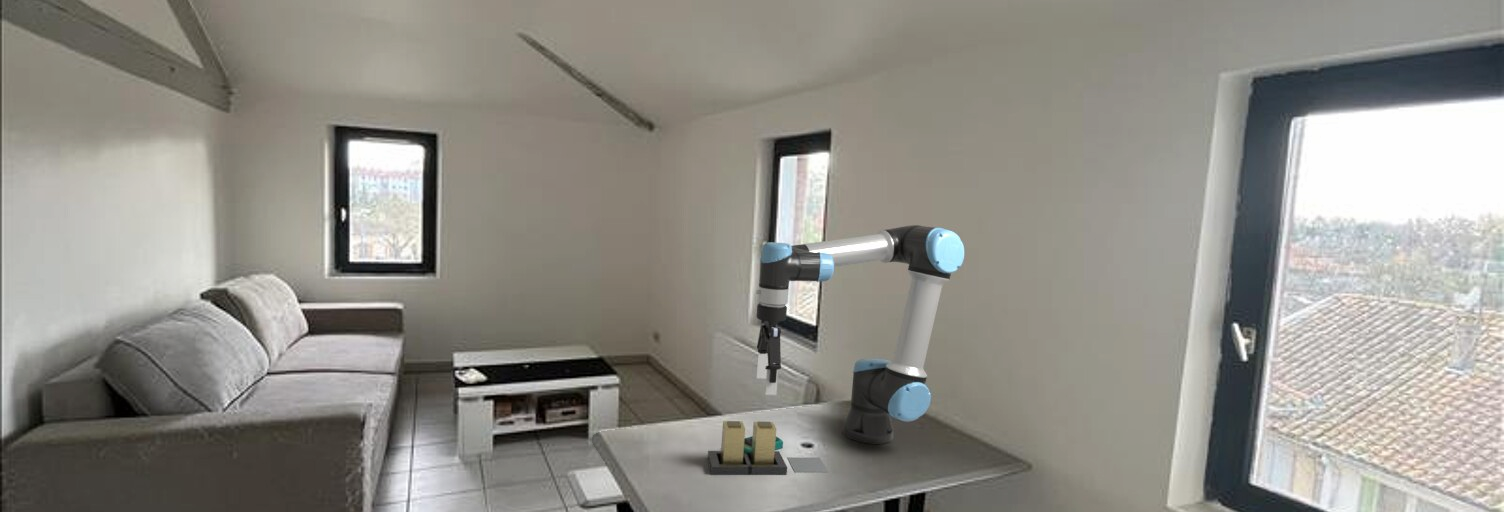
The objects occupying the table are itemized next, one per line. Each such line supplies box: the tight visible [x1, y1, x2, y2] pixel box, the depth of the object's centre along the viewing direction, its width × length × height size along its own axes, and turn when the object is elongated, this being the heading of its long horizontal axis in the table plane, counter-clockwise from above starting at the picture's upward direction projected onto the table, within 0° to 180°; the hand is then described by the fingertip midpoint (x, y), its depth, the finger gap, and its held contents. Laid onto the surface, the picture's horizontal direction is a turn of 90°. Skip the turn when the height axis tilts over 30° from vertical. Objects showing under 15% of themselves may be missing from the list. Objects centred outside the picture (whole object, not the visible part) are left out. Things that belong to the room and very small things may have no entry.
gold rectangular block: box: [720, 420, 746, 465], centre depth 173 cm, size 5×5×11 cm
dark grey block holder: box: [707, 450, 788, 476], centre depth 174 cm, size 19×10×2 cm, turn 100°
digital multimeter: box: [744, 435, 784, 453], centre depth 185 cm, size 7×15×3 cm, turn 135°
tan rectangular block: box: [751, 420, 777, 465], centre depth 174 cm, size 5×5×11 cm
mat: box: [786, 456, 830, 474], centre depth 178 cm, size 9×9×1 cm
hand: (765, 386), depth 173 cm, fingers open, 13 cm apart
